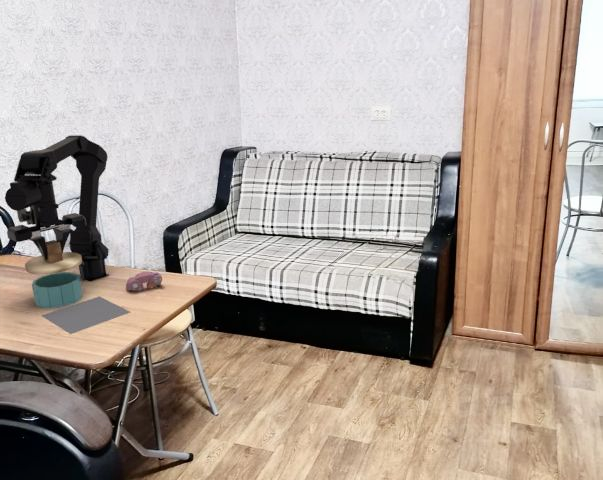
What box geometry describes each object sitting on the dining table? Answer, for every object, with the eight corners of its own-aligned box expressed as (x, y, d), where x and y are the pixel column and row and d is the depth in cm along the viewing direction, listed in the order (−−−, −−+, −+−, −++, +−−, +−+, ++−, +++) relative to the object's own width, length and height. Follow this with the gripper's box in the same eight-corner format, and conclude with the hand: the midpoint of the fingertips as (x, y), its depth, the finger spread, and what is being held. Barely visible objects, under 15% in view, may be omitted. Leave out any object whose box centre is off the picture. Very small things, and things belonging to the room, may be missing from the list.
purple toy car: (128, 299, 161) (128, 282, 157) (124, 288, 164) (124, 270, 160) (163, 292, 166) (164, 275, 161) (159, 281, 169) (160, 264, 164)
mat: (99, 298, 159) (99, 296, 159) (130, 313, 148) (130, 311, 148) (41, 317, 148) (41, 315, 148) (70, 335, 137) (70, 333, 137)
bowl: (70, 288, 166) (67, 269, 164) (90, 299, 158) (87, 278, 156) (28, 301, 158) (24, 281, 156) (47, 313, 150) (44, 291, 148)
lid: (67, 252, 164) (63, 231, 162) (91, 263, 155) (88, 241, 153) (16, 266, 155) (12, 244, 153) (40, 278, 145) (35, 255, 144)
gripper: (63, 190, 161) (72, 243, 166) (-7, 203, 148) (4, 261, 153) (83, 195, 154) (91, 251, 159) (11, 210, 141) (22, 270, 146)
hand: (53, 257), depth 154 cm, fingers closed on lid, 3 cm apart
